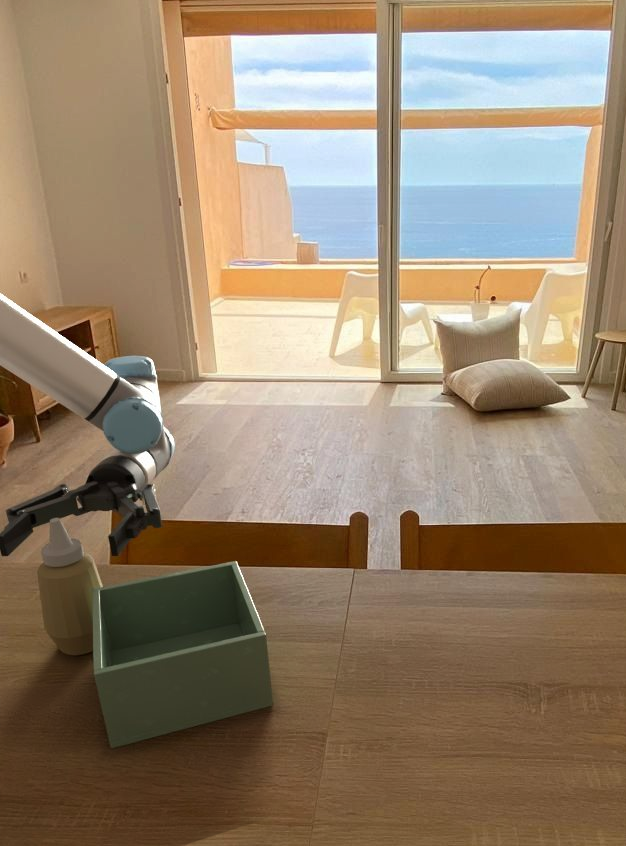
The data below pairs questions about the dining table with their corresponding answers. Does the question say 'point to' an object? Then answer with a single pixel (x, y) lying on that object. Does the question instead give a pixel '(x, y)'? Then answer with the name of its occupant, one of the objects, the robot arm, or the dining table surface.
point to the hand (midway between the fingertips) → (57, 546)
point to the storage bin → (178, 652)
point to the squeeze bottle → (67, 591)
